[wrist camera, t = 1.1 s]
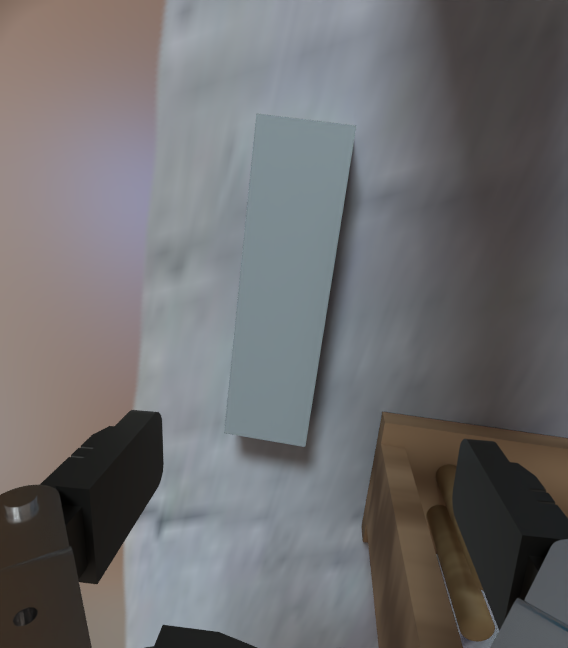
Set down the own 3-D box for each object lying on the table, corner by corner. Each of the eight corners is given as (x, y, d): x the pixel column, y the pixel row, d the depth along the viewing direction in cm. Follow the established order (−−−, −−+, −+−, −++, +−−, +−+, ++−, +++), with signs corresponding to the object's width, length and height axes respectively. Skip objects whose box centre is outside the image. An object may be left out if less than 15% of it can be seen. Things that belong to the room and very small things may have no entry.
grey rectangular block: (266, 125, 26) (256, 113, 22) (353, 136, 25) (356, 125, 22) (236, 407, 31) (223, 433, 27) (308, 419, 30) (305, 447, 27)
